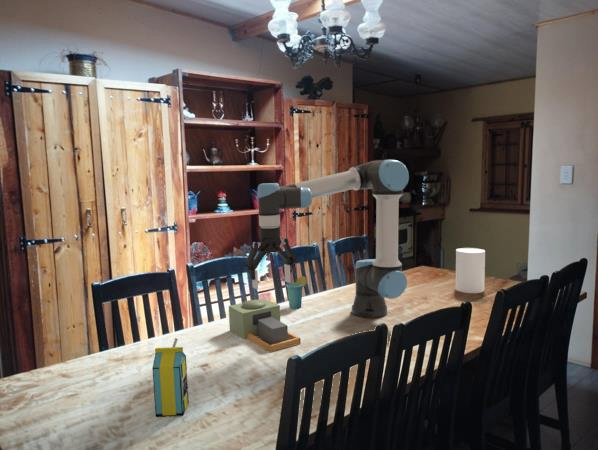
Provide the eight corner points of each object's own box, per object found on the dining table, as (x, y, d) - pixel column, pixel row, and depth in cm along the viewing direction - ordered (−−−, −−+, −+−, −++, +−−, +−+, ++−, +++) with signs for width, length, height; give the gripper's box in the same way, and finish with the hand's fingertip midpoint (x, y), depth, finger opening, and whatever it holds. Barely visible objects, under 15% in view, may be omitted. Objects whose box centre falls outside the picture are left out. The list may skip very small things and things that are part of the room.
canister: (449, 288, 233) (450, 249, 231) (469, 284, 239) (470, 247, 237) (469, 294, 221) (470, 253, 219) (490, 290, 227) (491, 251, 224)
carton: (190, 400, 126) (186, 337, 123) (184, 415, 118) (180, 348, 116) (162, 401, 125) (158, 338, 123) (155, 417, 118) (150, 349, 115)
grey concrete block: (272, 334, 175) (271, 316, 174) (288, 344, 165) (287, 325, 164) (258, 337, 172) (257, 319, 171) (273, 348, 162) (272, 328, 161)
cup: (286, 313, 200) (285, 279, 198) (276, 309, 206) (275, 276, 204) (311, 306, 208) (310, 274, 206) (300, 303, 214) (299, 271, 213)
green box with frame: (265, 322, 189) (264, 296, 187) (304, 342, 166) (303, 312, 164) (229, 330, 180) (228, 303, 178) (265, 353, 157) (264, 322, 155)
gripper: (293, 222, 173) (294, 277, 176) (233, 229, 159) (236, 288, 162) (304, 224, 167) (306, 281, 170) (243, 231, 153) (246, 293, 156)
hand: (271, 285), depth 166 cm, fingers open, 13 cm apart
